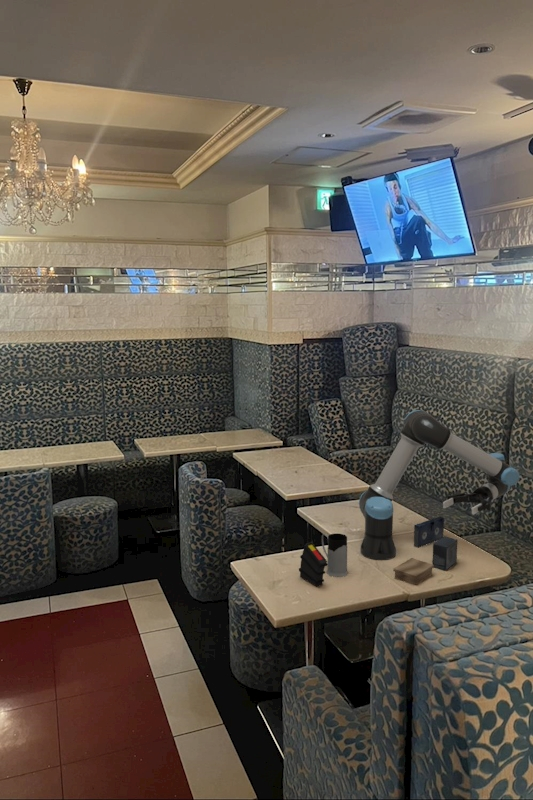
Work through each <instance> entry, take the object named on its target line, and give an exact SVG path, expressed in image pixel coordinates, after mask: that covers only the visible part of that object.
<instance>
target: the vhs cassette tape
mask: <svg viewBox="0 0 533 800" xmlns="http://www.w3.org/2000/svg"><path fill="white" fill-rule="evenodd" d="M444 527H445V518H444V517H442V516H438V517H434V518H431V519H428V520H426V521H423V522H421V523H416V524H414V527H413V528H414V529H413V547H415V548H421V546H422V547H425V546H426V544H427V545H429V543H430V544H432V543H435V542H436V541H438V540H439V539H441V538H442V537H444ZM434 541H435V542H434Z"/></svg>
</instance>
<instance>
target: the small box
mask: <svg viewBox="0 0 533 800" xmlns="http://www.w3.org/2000/svg"><path fill="white" fill-rule="evenodd" d="M432 543H433V544H432V564H433V565H434V567H433V568H432V569H434V568H435V569H437V570H441V571H445V572H448V571H449V570H450V569H451V568H452V567H454V566H455V565H456V564H458V539H457V538H453V537H448V536H445V535H443V537H442V538H441V539H439V540H437V541H435V542H432Z"/></svg>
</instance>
